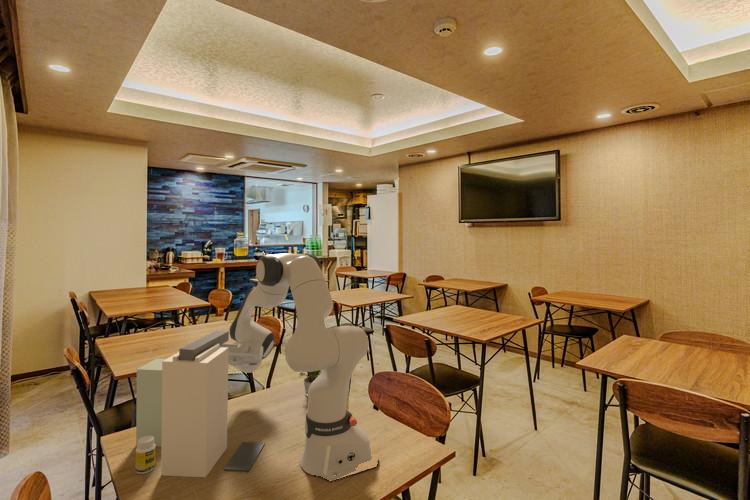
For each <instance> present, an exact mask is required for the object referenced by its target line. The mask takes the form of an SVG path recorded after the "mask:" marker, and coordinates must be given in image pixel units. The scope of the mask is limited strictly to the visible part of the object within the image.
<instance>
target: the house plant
mask: <svg viewBox="0 0 750 500" xmlns="http://www.w3.org/2000/svg"><path fill="white" fill-rule="evenodd" d="M321 372H322V370H317V371H313V372H299V374H298V376H299V377H303V376H305V378H304V379H303V384H304V391H305V395H306V394H308V390H309V387H310V385H311V383H312V382H313V381H314V380H315V379H316V378H317V377H318V376H319V375H320V374H321ZM306 373H307V374H306Z"/></svg>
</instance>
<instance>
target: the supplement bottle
mask: <svg viewBox="0 0 750 500" xmlns="http://www.w3.org/2000/svg"><path fill="white" fill-rule="evenodd" d="M154 442H155V441H154V437H153V436H144V437H142V438H140V439H139V440H138V441H137V445H136V447H135V448H136V449H135V466H134V467H135V470H134V472H135V474H138V475H144V474H148V473H150V472H152V471H153V470H155V468H156V458H157V457H156V454H157V453H156V452H157V451H156V450H157V449H156V447H157V446H156V445H155V443H154Z"/></svg>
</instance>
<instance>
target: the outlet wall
mask: <svg viewBox="0 0 750 500" xmlns="http://www.w3.org/2000/svg"><path fill="white" fill-rule="evenodd" d="M228 354H229V348H228V347H220V344H215V345H214V346H212V347H210V348H209V349H207V350H206V351H204V352H203V353H201V354H200V355H198V356H197V357H195V360H194V361H187V360H179V351H178V352H176V353H174V354H173V355H171V356H168V357H167V358H165V359H166V360H164V361H162V441H161V449H160V450H161V452H160V453H161V455H160V456H161V458H160V460H161V461H160V465H161V467H160V470H161V471H160V472H161V473H160V476H164V477H165V476H166V477H167V476H169V477H189V478H191V477H193V478H207V477H208V475H209V473H210V472H211V470H212V469H213V468H214V466H215V465H216V464H217V462H218V461H219V459H220V458H221V457H222V456H223V454H224V453H225V451H226V450H227V449H228V414H229V412H228V408H229V407H228V405H229V404H228V403H229V402H228V400H229V399H228V397H229V364H228Z"/></svg>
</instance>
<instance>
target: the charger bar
mask: <svg viewBox="0 0 750 500" xmlns="http://www.w3.org/2000/svg"><path fill="white" fill-rule="evenodd" d="M229 337H230V333H229V330H215V331H213V332H210V333H209V334H206V335H205V336H202V337H201V338H199V339H196V340H194V341H192V342H190V343H188V344H186V345H185V346H183V347H180V348H179V349H178V352H179V360H187V361H194V360H195V357H197V356H198V355H200V354H201V353H203V352H204V351H206V350H207V349H209V348H210V347H212V346H214V345H215V344H220V345H222V344H226V342H227V343H228V341H229Z"/></svg>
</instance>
